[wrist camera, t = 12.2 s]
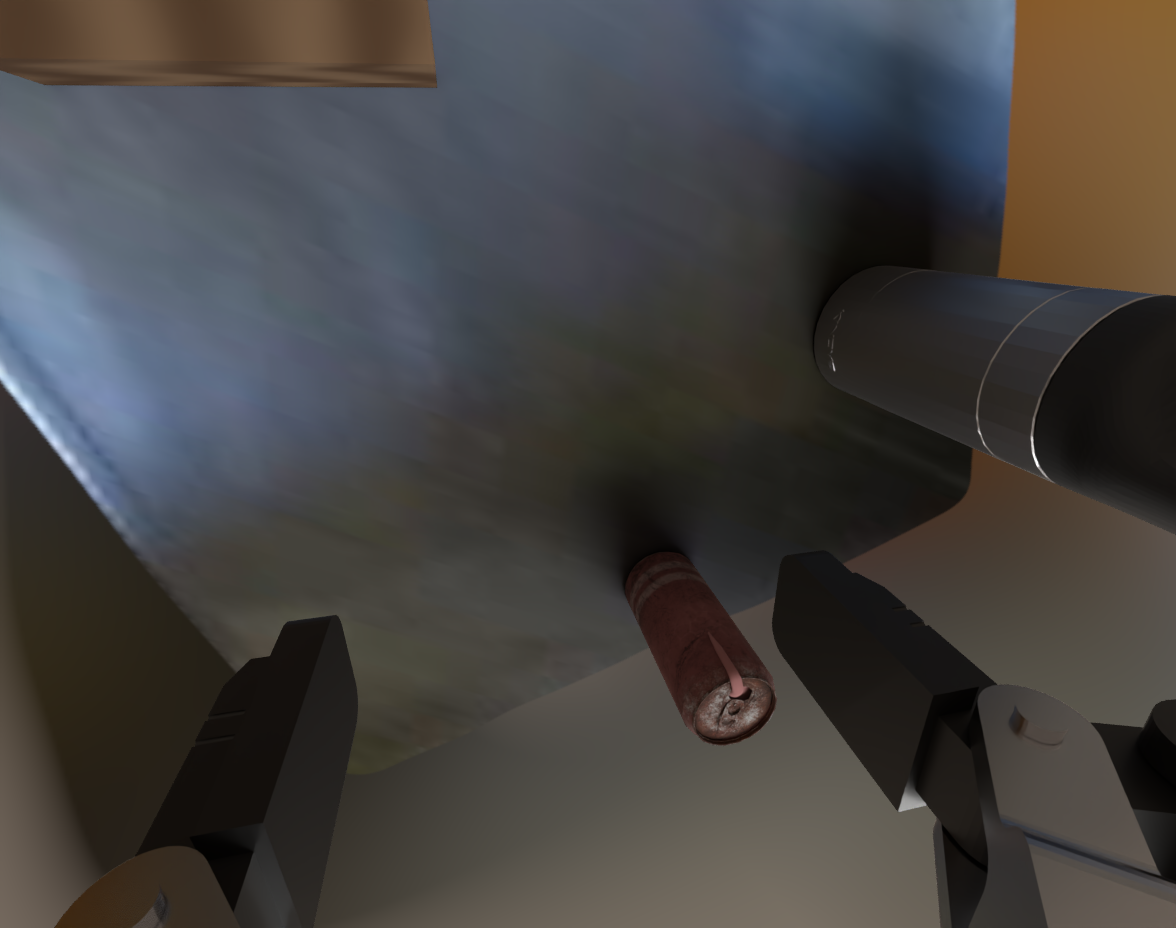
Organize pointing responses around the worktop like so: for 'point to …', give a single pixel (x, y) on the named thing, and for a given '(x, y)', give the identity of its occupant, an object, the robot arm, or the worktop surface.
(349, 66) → the socket block
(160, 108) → the worktop surface
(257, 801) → the robot arm
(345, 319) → the worktop surface
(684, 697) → the can
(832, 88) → the worktop surface
